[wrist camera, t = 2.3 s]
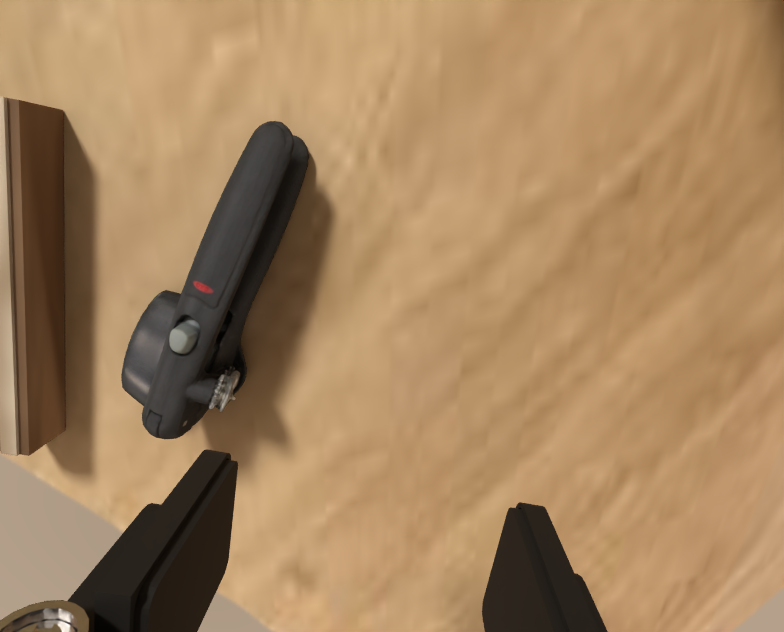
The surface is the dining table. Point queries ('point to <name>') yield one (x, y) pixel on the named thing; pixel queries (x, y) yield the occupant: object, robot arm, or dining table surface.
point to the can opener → (215, 292)
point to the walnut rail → (31, 276)
